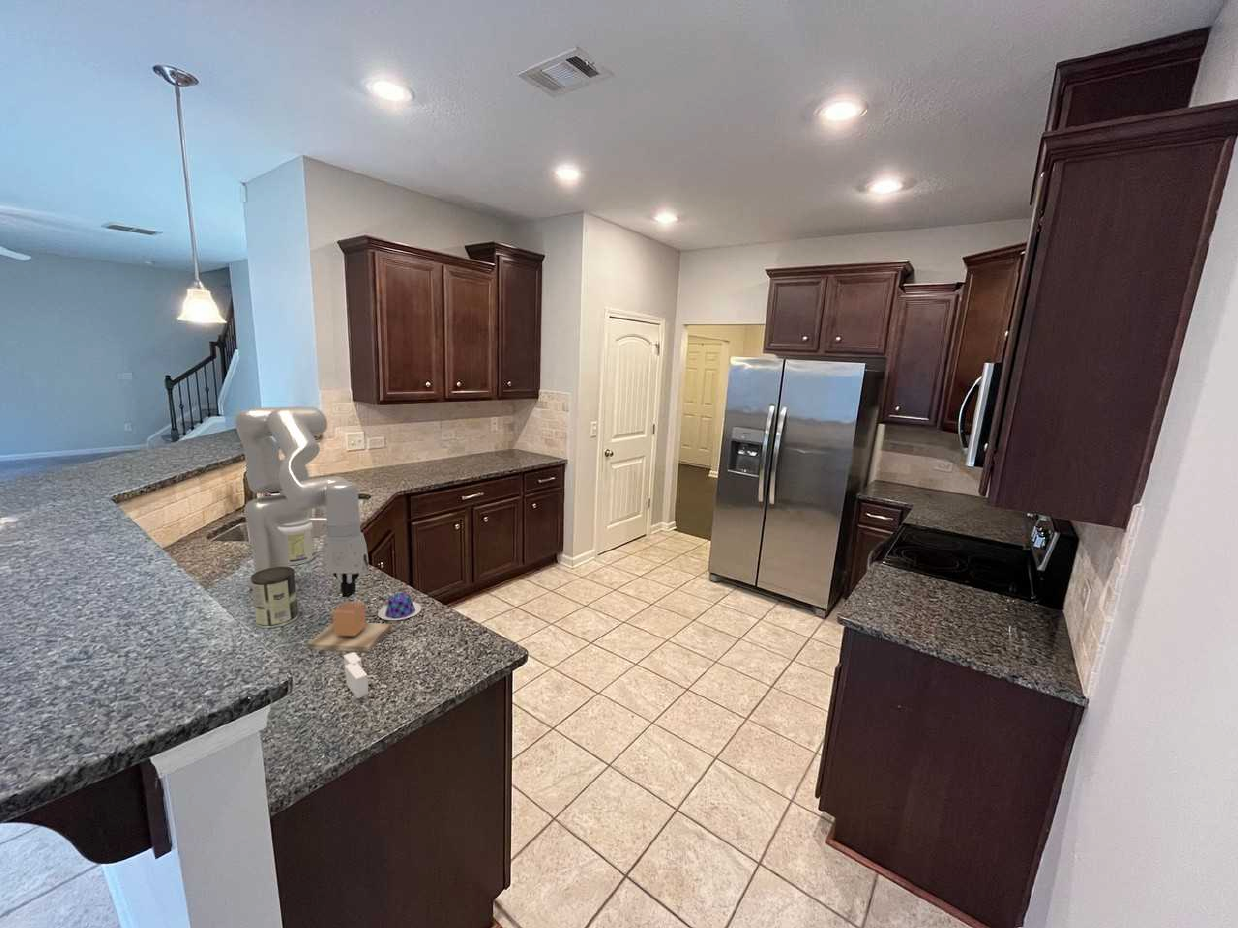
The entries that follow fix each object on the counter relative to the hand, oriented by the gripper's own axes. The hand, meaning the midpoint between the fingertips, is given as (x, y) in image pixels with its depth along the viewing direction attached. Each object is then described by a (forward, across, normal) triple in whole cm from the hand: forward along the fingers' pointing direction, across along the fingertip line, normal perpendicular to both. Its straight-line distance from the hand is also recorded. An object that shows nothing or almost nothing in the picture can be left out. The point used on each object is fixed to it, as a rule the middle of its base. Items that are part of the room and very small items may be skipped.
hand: (348, 595), depth 135 cm
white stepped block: (+13, +12, -18) cm, 25 cm away
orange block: (+10, 0, 0) cm, 10 cm away
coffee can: (+13, -26, +8) cm, 30 cm away
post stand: (+13, 0, 0) cm, 13 cm away
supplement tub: (+12, -49, +51) cm, 72 cm away
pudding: (+13, +6, +16) cm, 22 cm away
